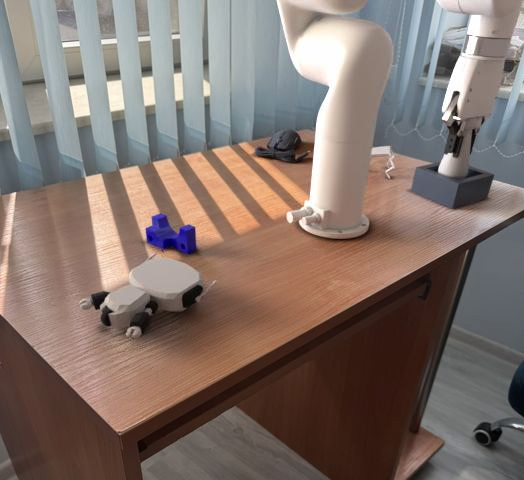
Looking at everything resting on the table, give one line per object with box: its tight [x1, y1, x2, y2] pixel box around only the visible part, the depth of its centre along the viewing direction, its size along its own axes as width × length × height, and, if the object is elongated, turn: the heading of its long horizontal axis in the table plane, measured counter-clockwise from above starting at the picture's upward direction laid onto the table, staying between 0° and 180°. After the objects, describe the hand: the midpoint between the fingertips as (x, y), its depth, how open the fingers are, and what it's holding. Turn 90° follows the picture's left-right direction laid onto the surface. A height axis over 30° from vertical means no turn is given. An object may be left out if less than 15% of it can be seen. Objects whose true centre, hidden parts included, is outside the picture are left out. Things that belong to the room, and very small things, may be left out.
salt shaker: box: [438, 117, 478, 180], centre depth 102 cm, size 6×6×13 cm
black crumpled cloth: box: [253, 128, 312, 163], centre depth 127 cm, size 12×17×4 cm
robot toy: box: [78, 251, 218, 339], centre depth 69 cm, size 12×4×15 cm
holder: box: [410, 161, 495, 210], centre depth 107 cm, size 11×11×5 cm
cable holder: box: [144, 212, 197, 255], centre depth 84 cm, size 8×4×4 cm, turn 51°
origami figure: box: [371, 145, 396, 179], centre depth 117 cm, size 12×8×5 cm
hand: (457, 153), depth 103 cm, fingers closed on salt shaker, 3 cm apart
